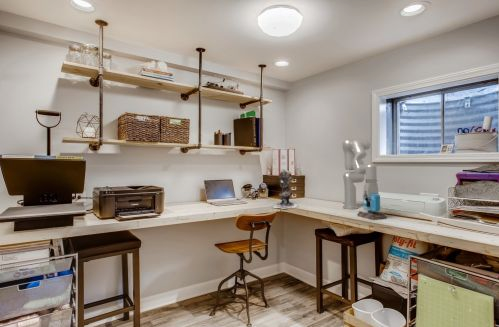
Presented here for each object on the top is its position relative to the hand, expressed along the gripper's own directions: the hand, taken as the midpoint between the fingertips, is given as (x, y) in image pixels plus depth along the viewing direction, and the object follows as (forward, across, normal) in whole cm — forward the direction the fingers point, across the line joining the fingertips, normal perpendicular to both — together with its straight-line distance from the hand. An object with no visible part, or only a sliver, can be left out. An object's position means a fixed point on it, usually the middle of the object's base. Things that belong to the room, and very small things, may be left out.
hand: (371, 206), depth 212 cm
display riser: (+8, 0, 0) cm, 8 cm away
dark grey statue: (+8, +38, -69) cm, 79 cm away
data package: (+3, 0, 0) cm, 3 cm away
